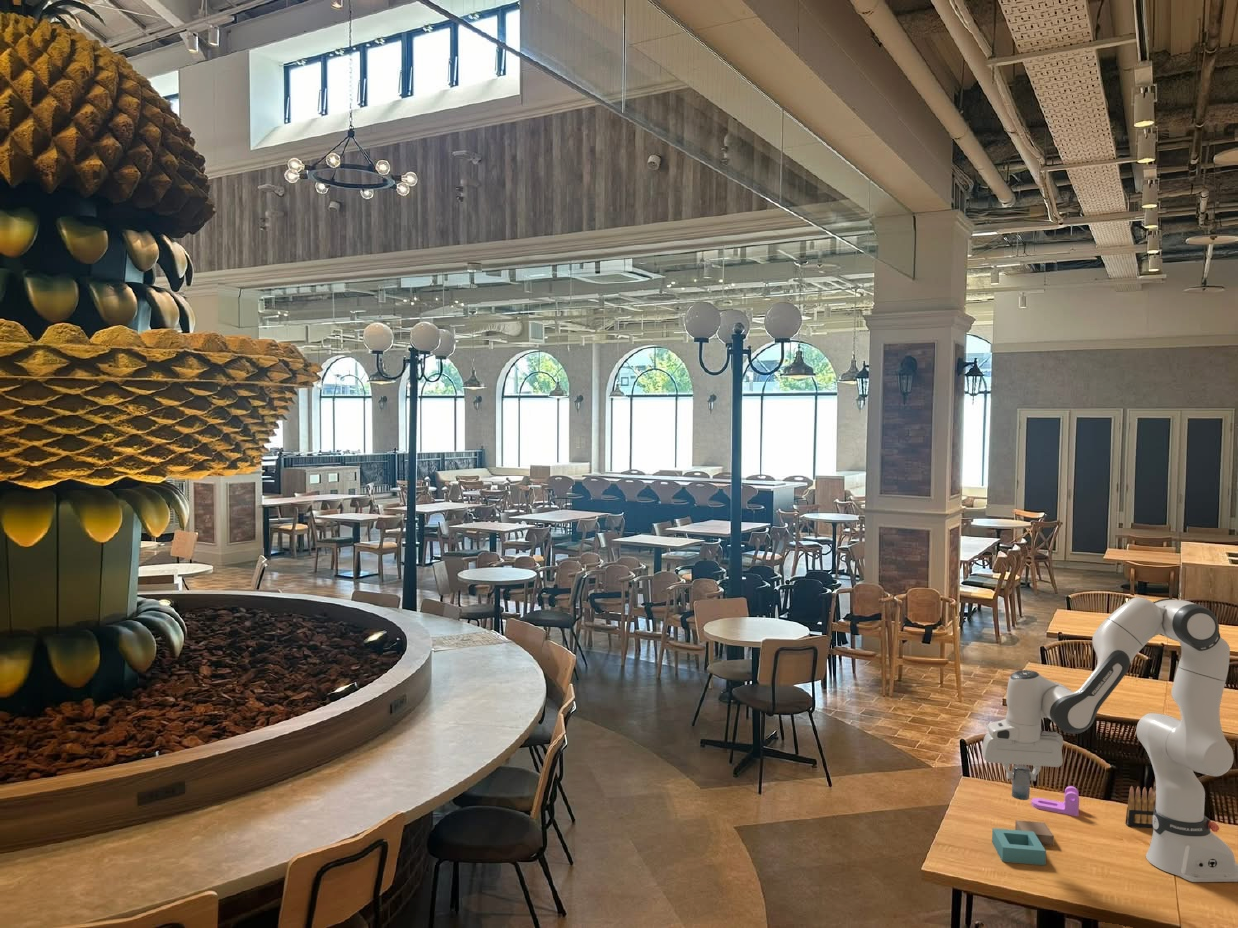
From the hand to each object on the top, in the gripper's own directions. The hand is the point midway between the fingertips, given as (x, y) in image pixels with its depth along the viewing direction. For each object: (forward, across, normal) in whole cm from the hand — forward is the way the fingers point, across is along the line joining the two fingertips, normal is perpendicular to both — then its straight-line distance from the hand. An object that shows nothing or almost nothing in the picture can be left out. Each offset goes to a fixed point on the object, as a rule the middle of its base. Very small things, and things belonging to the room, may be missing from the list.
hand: (1021, 779), depth 242 cm
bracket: (+22, -19, -31) cm, 42 cm away
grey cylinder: (+5, 0, 0) cm, 5 cm away
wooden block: (+21, -7, -10) cm, 24 cm away
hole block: (+21, 0, 0) cm, 21 cm away
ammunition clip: (+21, -42, -23) cm, 53 cm away
